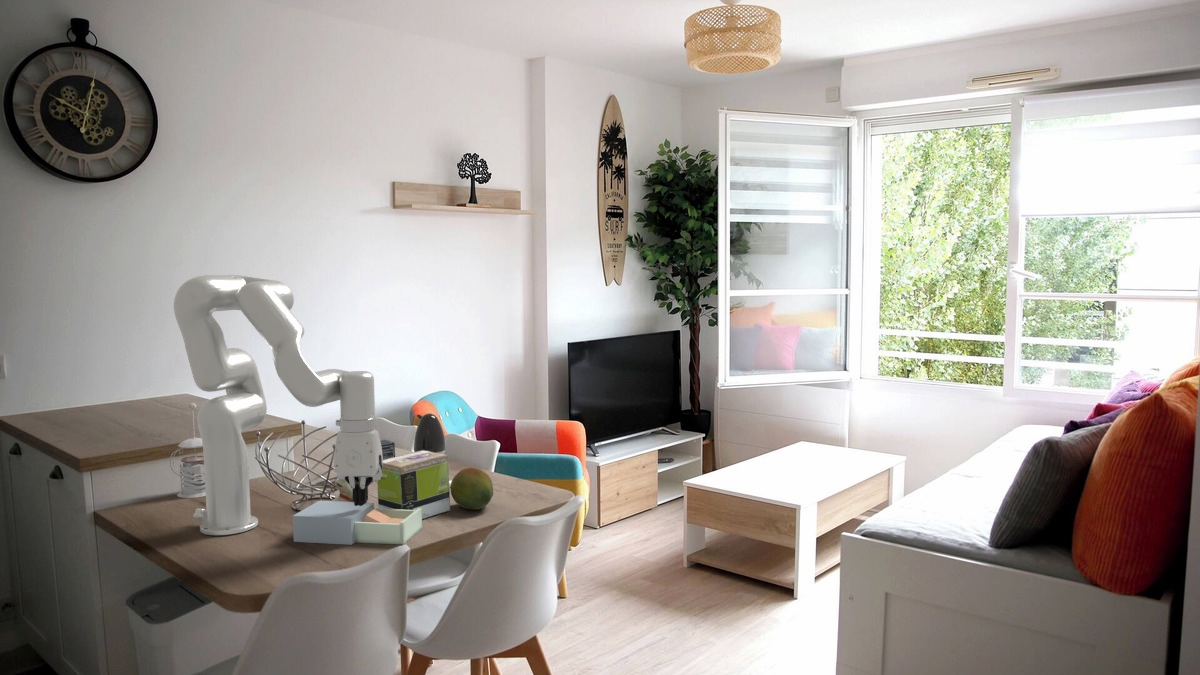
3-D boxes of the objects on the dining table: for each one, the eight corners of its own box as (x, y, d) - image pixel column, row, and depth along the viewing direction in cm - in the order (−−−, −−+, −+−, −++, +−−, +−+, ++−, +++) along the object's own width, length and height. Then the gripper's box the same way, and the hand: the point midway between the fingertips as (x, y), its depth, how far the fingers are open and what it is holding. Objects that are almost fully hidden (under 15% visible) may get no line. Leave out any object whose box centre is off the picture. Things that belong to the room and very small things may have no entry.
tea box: (425, 504, 212) (424, 448, 211) (451, 511, 206) (449, 454, 204) (377, 518, 200) (375, 459, 199) (402, 526, 194) (400, 465, 193)
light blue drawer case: (293, 541, 183) (292, 515, 183) (320, 524, 195) (319, 500, 195) (351, 544, 181) (351, 518, 181) (374, 527, 193) (374, 503, 192)
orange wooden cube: (360, 528, 185) (366, 515, 184) (368, 522, 189) (373, 509, 189) (377, 537, 184) (383, 523, 184) (384, 530, 189) (390, 517, 188)
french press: (205, 497, 218) (201, 406, 216) (163, 497, 219) (158, 406, 217) (223, 488, 228) (219, 400, 226) (182, 487, 229) (178, 400, 226)
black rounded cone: (430, 455, 267) (429, 409, 266) (452, 459, 261) (451, 412, 260) (406, 461, 259) (405, 414, 257) (429, 465, 253) (428, 417, 251)
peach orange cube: (401, 525, 182) (401, 540, 182) (409, 518, 186) (409, 533, 187) (382, 524, 183) (383, 539, 183) (390, 518, 187) (391, 532, 187)
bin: (355, 542, 183) (354, 520, 182) (376, 526, 194) (375, 506, 193) (403, 544, 181) (403, 522, 181) (422, 528, 192) (421, 508, 191)
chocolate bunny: (350, 518, 200) (349, 478, 199) (323, 516, 202) (321, 476, 201) (363, 512, 205) (362, 473, 204) (336, 509, 208) (335, 471, 207)
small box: (386, 472, 244) (385, 438, 243) (397, 477, 240) (396, 442, 239) (353, 479, 237) (352, 444, 236) (363, 483, 232) (362, 447, 231)
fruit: (478, 498, 217) (477, 461, 216) (507, 507, 208) (507, 469, 207) (441, 507, 209) (440, 469, 208) (470, 518, 200) (469, 478, 199)
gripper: (319, 427, 182) (322, 507, 184) (382, 429, 180) (384, 510, 182) (335, 421, 190) (338, 498, 191) (396, 423, 187) (398, 500, 189)
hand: (360, 504), depth 187 cm, fingers closed
